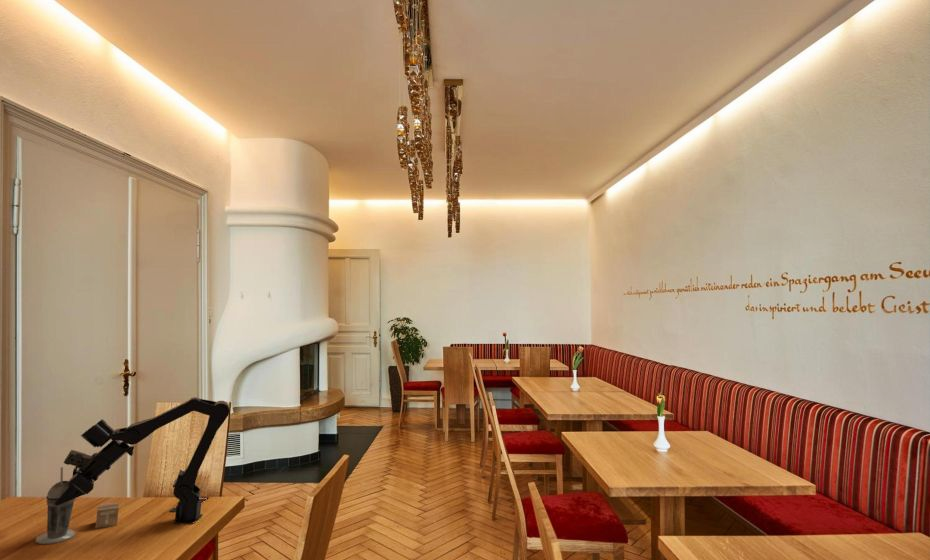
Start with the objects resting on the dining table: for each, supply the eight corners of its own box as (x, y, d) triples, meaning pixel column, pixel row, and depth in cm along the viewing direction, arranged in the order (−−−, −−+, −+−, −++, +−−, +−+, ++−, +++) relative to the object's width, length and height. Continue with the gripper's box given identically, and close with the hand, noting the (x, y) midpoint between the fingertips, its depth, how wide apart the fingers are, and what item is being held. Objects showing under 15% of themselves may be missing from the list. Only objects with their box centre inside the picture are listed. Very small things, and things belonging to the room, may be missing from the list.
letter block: (96, 522, 160) (98, 504, 160) (117, 519, 163) (118, 502, 163) (95, 529, 155) (97, 510, 155) (116, 525, 158) (118, 507, 158)
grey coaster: (82, 531, 153) (82, 529, 153) (60, 544, 144) (60, 542, 144) (51, 531, 152) (51, 529, 152) (27, 544, 143) (27, 542, 143)
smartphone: (167, 511, 170) (191, 495, 185) (167, 513, 170) (191, 497, 185) (189, 511, 170) (210, 496, 185) (188, 513, 170) (210, 498, 185)
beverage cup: (78, 531, 151) (86, 464, 153) (57, 541, 144) (65, 470, 146) (57, 529, 152) (65, 462, 154) (34, 539, 145) (43, 468, 147)
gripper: (87, 434, 161) (39, 474, 154) (83, 447, 145) (29, 492, 138) (115, 456, 164) (69, 496, 157) (113, 471, 149) (62, 516, 142)
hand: (57, 499), depth 148 cm, fingers open, 9 cm apart
